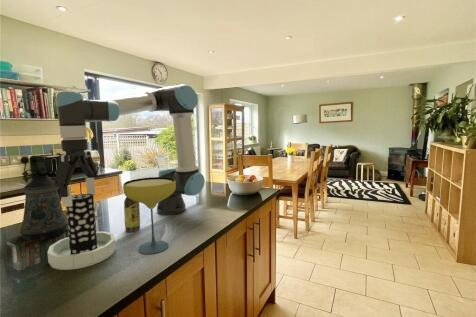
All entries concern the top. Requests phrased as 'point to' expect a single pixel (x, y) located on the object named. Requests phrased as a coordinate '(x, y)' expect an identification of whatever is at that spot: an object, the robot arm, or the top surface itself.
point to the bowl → (65, 261)
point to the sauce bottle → (131, 215)
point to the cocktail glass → (150, 203)
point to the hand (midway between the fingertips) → (80, 200)
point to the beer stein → (42, 210)
